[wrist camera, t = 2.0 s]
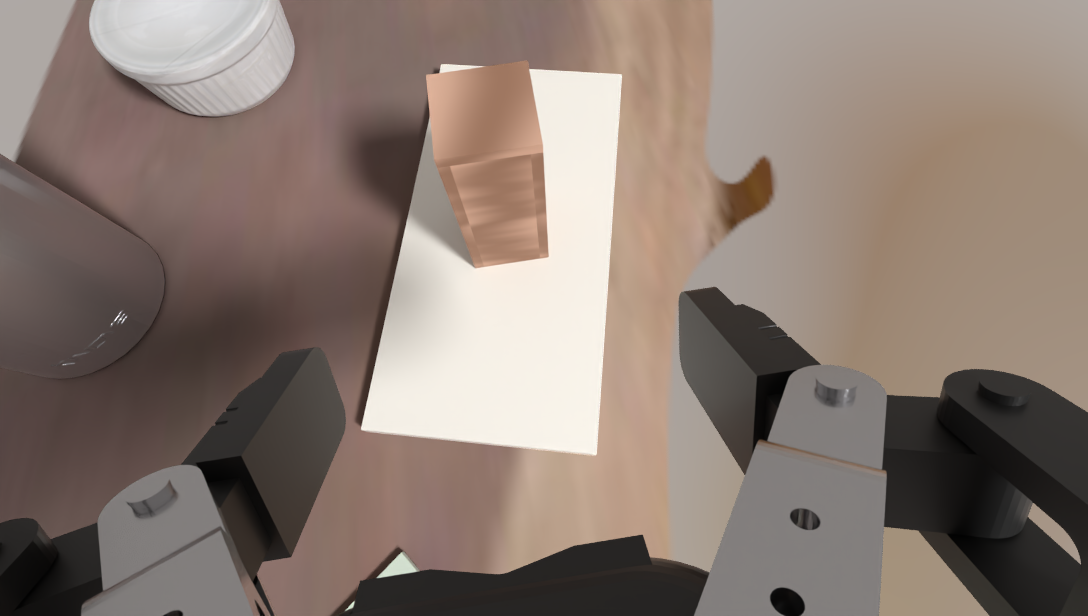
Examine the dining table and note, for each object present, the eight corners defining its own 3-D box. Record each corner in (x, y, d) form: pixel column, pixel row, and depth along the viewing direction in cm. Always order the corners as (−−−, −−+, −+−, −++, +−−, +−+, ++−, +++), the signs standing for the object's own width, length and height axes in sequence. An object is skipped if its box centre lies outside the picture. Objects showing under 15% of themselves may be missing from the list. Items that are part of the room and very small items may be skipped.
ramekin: (247, -14, 39) (201, -89, 34) (343, 58, 36) (308, -11, 31) (121, 75, 36) (50, 8, 31) (214, 161, 33) (153, 103, 28)
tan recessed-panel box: (475, 268, 29) (434, 160, 19) (467, 204, 30) (426, 74, 21) (548, 257, 29) (542, 144, 20) (537, 194, 30) (527, 60, 21)
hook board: (444, 75, 35) (417, -22, 28) (620, 85, 34) (634, -11, 28) (367, 431, 27) (305, 412, 20) (595, 455, 26) (606, 443, 20)
